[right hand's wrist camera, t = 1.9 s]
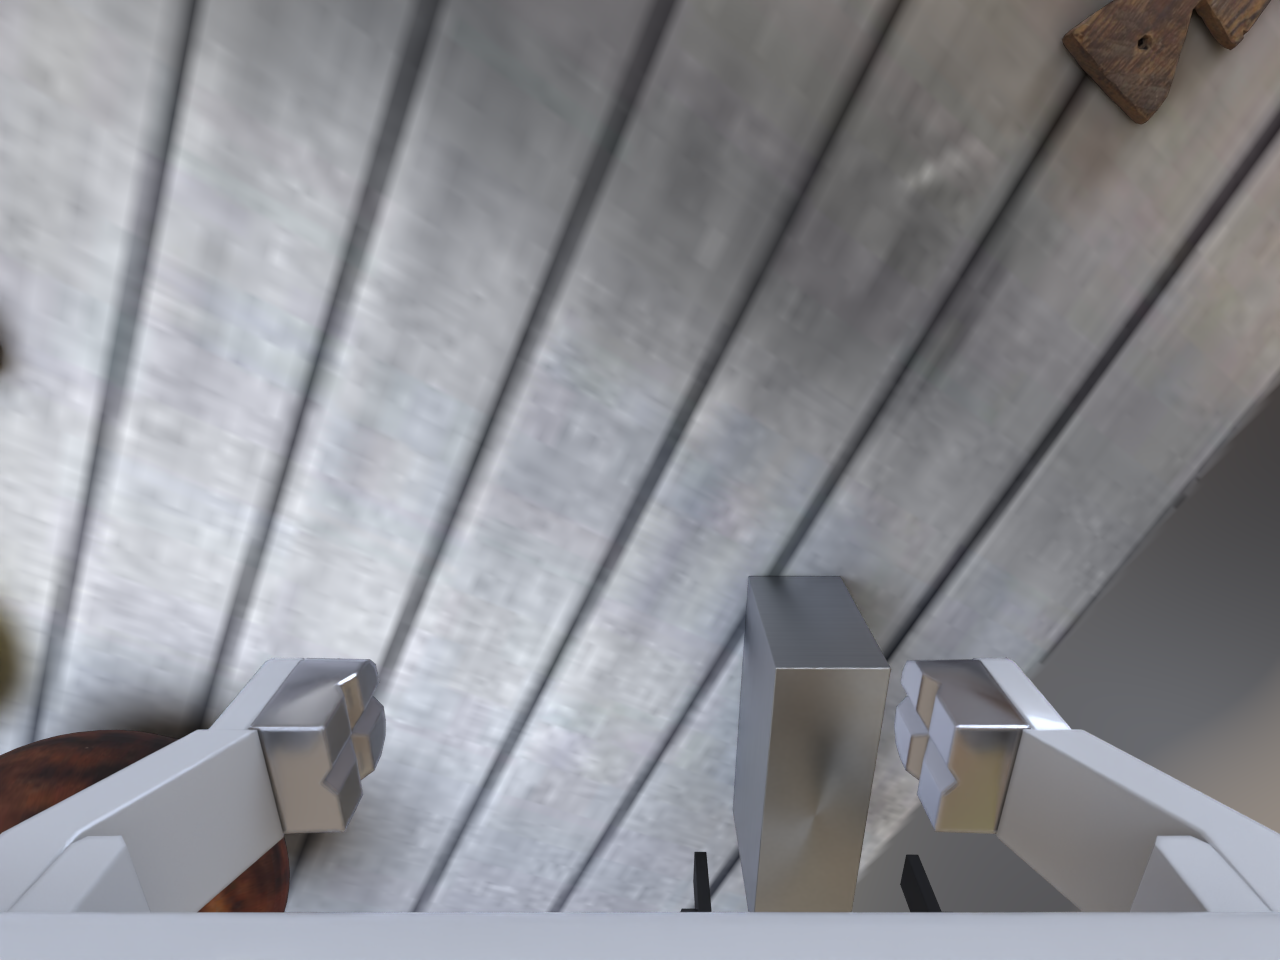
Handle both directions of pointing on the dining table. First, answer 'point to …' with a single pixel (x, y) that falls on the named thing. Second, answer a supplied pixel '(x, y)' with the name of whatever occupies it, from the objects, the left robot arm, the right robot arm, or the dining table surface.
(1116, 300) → the dining table surface
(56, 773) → the marbled brown ball
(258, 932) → the right robot arm
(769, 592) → the box
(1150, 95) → the dark wooden board
